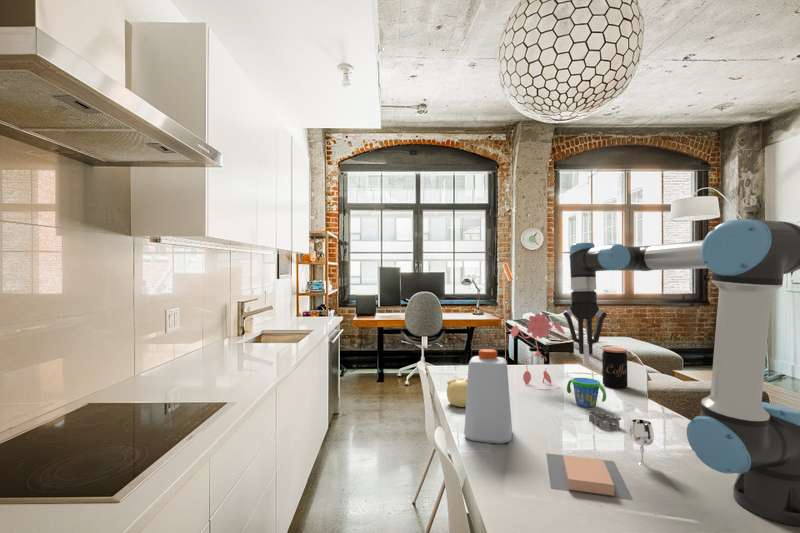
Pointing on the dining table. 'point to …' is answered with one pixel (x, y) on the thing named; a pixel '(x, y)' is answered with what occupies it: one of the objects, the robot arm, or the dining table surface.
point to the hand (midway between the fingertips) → (586, 364)
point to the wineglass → (641, 434)
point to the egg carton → (600, 420)
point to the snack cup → (586, 391)
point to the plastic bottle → (488, 399)
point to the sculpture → (457, 392)
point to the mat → (560, 483)
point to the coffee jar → (614, 367)
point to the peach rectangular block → (587, 475)
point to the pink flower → (537, 328)
